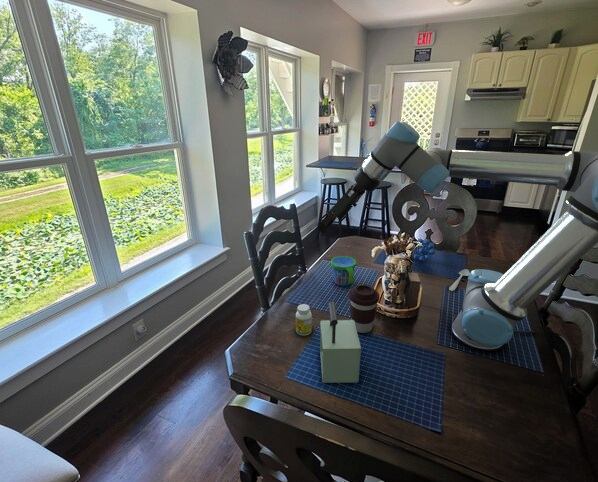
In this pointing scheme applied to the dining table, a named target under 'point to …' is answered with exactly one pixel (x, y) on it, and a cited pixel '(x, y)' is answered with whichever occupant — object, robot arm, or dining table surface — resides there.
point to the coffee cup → (363, 307)
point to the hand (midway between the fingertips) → (329, 223)
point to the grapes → (424, 250)
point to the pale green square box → (339, 349)
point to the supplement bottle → (303, 320)
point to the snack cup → (343, 270)
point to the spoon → (463, 273)
